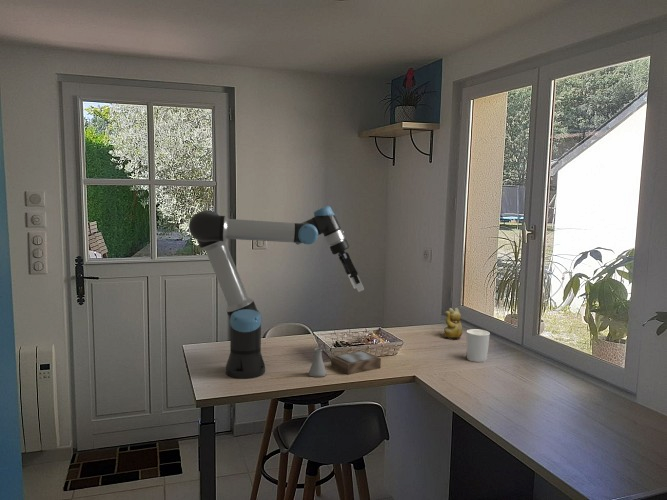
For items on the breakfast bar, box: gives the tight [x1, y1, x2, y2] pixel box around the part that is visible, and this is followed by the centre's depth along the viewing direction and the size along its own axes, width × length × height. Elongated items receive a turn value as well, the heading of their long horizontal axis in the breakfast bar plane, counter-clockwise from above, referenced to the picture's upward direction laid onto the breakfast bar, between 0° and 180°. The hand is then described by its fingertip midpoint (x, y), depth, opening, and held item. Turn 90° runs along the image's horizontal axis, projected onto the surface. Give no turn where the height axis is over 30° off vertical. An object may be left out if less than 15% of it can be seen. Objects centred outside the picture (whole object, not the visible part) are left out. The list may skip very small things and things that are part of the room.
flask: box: [308, 347, 328, 378], centre depth 209 cm, size 7×7×10 cm
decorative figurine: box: [443, 307, 463, 340], centre depth 267 cm, size 10×8×15 cm
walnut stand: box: [330, 350, 382, 375], centre depth 219 cm, size 16×12×4 cm
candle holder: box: [466, 328, 491, 363], centre depth 233 cm, size 10×10×12 cm
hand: (359, 289), depth 224 cm, fingers open, 13 cm apart
